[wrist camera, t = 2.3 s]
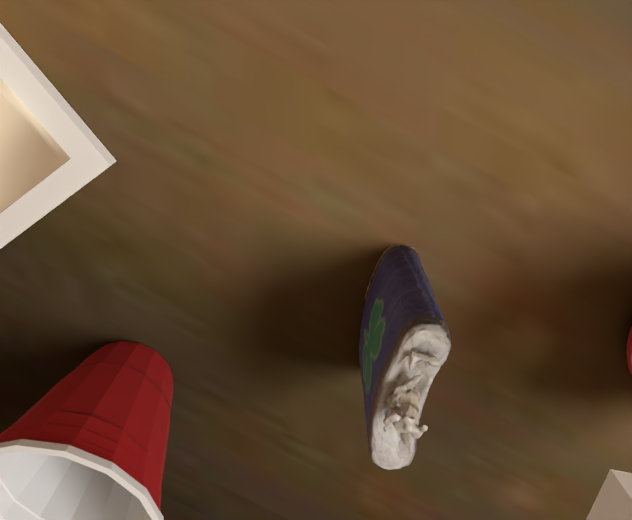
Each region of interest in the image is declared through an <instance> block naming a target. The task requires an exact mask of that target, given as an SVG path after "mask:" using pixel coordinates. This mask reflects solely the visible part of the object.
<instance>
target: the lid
mask: <svg viewBox="0 0 632 520" xmlns="http://www.w3.org/2000/svg"><path fill="white" fill-rule="evenodd" d="M70 159H71V158H70V157H69V156H68V155H67V154H66V152H65V151H64V150H63V149H62V148H61V147H60V146H59V144H58V143H57V142H56V141H55V140H54V139H53V138H52V136H51V135H50V134H49V133H48V132H47V131H46V130H45V128H44V127H43V126H42V125H41V124H40V123H39V122H38V120H37V119H36V118H35V117H34V116H33V115H32V114H31V112H30V111H29V110H28V109H27V108H26V107H25V106H24V104H23V103H22V102H21V101H20V100H19V99H18V98H17V96H16V95H15V94H14V93H13V92H12V91H11V90H10V89H9V87H8V86H7V85H6V84H5V83H4V82H3V81H2V79H1V78H0V213H2V212H3V211H4V210H5V209H7V208H8V207H9V206H11V205H12V204H13V203H14V202H16V201H17V200H18V199H20V198H21V197H22V196H23V195H25V194H26V193H27V192H29V191H30V190H31V189H32V188H34V187H35V186H36V185H38V184H39V183H40V182H42V181H43V180H44V179H45V178H47V177H48V176H49V175H51V174H52V173H53V172H54V171H56V170H57V169H58V168H60V167H61V166H62V165H63V164H65V163H66V162H67V161H69V160H70Z"/></svg>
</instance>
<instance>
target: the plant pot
mask: <svg viewBox="0 0 632 520" xmlns="http://www.w3.org/2000/svg"><path fill="white" fill-rule="evenodd" d="M627 361H628V366H629V370H630V373H631V375H632V326H631V329H630V332H629V336H628V341H627Z"/></svg>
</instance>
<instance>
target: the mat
mask: <svg viewBox="0 0 632 520" xmlns="http://www.w3.org/2000/svg"><path fill="white" fill-rule="evenodd" d="M0 78H1V79H2V81H3V82H4V83H5V84H6V85H7V86H8V87H9V89H10V90H11V91H12V92H13V93H14V94H15V95H16V96H17V98H18V99H19V100H20V101H21V102H22V103H23V104H24V106H25V107H26V108H27V109H28V110H29V111H30V112H31V114H32V115H33V116H34V117H35V118H36V119H37V120H38V122H39V123H40V124H41V125H42V126H43V127H44V128H45V130H46V131H47V132H48V133H49V134H50V135H51V136H52V138H53V139H54V140H55V141H56V142H57V143H58V144H59V146H60V147H61V148H62V149H63V150H64V151H65V152H66V154H67V155H68V156H69V157H70V158H71V159H70V160H69V161H67V162H66V163H65V164H63V165H62V166H61V167H60V168H58V169H57V170H56V171H54V172H53V173H52V174H51V175H49V176H48V177H47V178H45V179H44V180H43V181H42V182H40V183H39V184H38V185H36V186H35V187H34V188H32V189H31V190H30V191H29V192H27V193H26V194H25V195H23V196H22V197H21V198H20V199H18V200H17V201H16V202H14V203H13V204H12V205H11V206H9V207H8V208H7V209H5V210H4V211H3V212H2V213H0V249H1V248H2V247H4V246H5V245H6V244H7V243H9V242H10V241H11V240H13V239H14V238H15V237H17V236H18V235H19V234H21V233H22V232H23V231H25V230H26V229H27V228H29V227H30V226H31V225H33V224H34V223H35V222H37V221H38V220H39V219H41V218H42V217H43V216H45V215H46V214H47V213H49V212H50V211H51V210H53V209H54V208H55V207H57V206H58V205H59V204H61V203H62V202H63V201H65V200H66V199H67V198H69V197H70V196H71V195H73V194H74V193H75V192H77V191H78V190H79V189H81V188H82V187H83V186H84V185H86V184H87V183H88V182H90V181H91V180H92V179H94V178H95V177H96V176H98V175H99V174H100V173H102V172H103V171H104V170H106V169H107V168H108V167H110V166H111V165H112V164H114V163H115V162H116V160H115V158H114V157H113V156H112V155H111V154H110V153H109V151H108V150H107V149H106V148H105V147H104V145H103V144H102V143H101V142H100V141H99V139H98V138H97V137H96V136H95V135H94V134H93V132H92V131H91V130H90V129H89V128H88V126H87V125H86V124H85V123H84V122H83V120H82V119H81V118H80V117H79V116H78V115H77V113H76V112H75V111H74V110H73V109H72V107H71V106H70V105H69V104H68V103H67V102H66V100H65V99H64V98H63V97H62V96H61V94H60V93H59V92H58V91H57V90H56V88H55V87H54V86H53V85H52V84H51V83H50V81H49V80H48V79H47V78H46V77H45V75H44V74H43V73H42V72H41V71H40V70H39V68H38V67H37V66H36V65H35V64H34V62H33V61H32V60H31V59H30V58H29V56H28V55H27V54H26V53H25V52H24V51H23V49H22V48H21V47H20V46H19V45H18V43H17V42H16V41H15V40H14V39H13V38H12V36H11V35H10V34H9V33H8V32H7V30H6V29H5V28H4V27H3V26H2V24H1V23H0Z"/></svg>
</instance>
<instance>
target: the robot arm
mask: <svg viewBox="0 0 632 520" xmlns="http://www.w3.org/2000/svg"><path fill="white" fill-rule="evenodd" d="M586 520H632V473H628V472H623V471H618V470H613V469H610V471H609V473H608V475H607V477H606V479H605V481H604V484H603V486H602V488H601V490H600V492H599V494H598V496H597V498H596V500H595V502H594V504H593V506H592V509H591V511H590V513H589V515H588V517H587V519H586Z"/></svg>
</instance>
